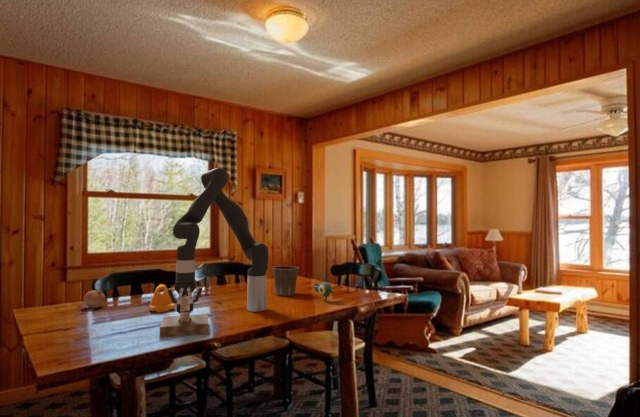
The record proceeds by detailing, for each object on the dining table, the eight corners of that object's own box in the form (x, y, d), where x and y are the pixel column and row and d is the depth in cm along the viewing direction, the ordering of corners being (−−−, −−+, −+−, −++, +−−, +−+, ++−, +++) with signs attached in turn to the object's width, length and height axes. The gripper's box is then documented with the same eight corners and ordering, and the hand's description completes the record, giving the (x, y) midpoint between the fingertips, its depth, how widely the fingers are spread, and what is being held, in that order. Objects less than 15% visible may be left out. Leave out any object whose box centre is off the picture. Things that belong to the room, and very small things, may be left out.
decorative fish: (319, 305, 215) (327, 304, 219) (329, 291, 209) (337, 290, 213) (308, 286, 223) (317, 285, 226) (318, 272, 216) (326, 271, 220)
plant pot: (288, 290, 247) (289, 265, 247) (304, 294, 235) (304, 267, 235) (266, 293, 237) (266, 267, 237) (281, 298, 224) (281, 270, 225)
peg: (189, 319, 164) (190, 294, 164) (189, 321, 160) (189, 296, 160) (180, 319, 163) (180, 295, 163) (179, 321, 159) (180, 297, 159)
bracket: (151, 312, 189) (151, 287, 189) (149, 309, 195) (149, 285, 196) (174, 310, 194) (175, 286, 195) (172, 307, 201) (172, 283, 201)
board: (207, 323, 172) (207, 314, 172) (208, 333, 156) (208, 323, 156) (163, 326, 166) (163, 316, 166) (159, 337, 151) (159, 327, 151)
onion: (102, 313, 200) (112, 295, 201) (85, 311, 192) (96, 293, 193) (93, 304, 205) (102, 286, 206) (76, 302, 197) (86, 284, 197)
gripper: (203, 269, 167) (202, 309, 167) (167, 270, 163) (167, 311, 163) (203, 271, 160) (203, 313, 160) (166, 272, 156) (165, 316, 156)
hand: (184, 312), depth 161 cm, fingers closed on peg, 3 cm apart
